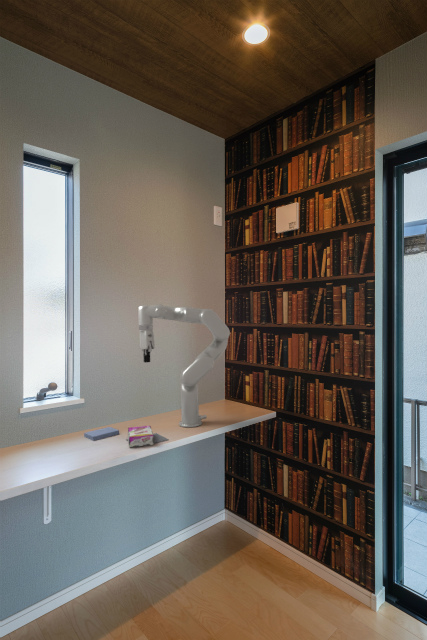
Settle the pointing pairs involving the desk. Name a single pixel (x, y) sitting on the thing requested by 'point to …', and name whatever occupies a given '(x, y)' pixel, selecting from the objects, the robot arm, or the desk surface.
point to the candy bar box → (140, 436)
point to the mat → (156, 438)
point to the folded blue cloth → (101, 433)
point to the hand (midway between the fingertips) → (147, 362)
